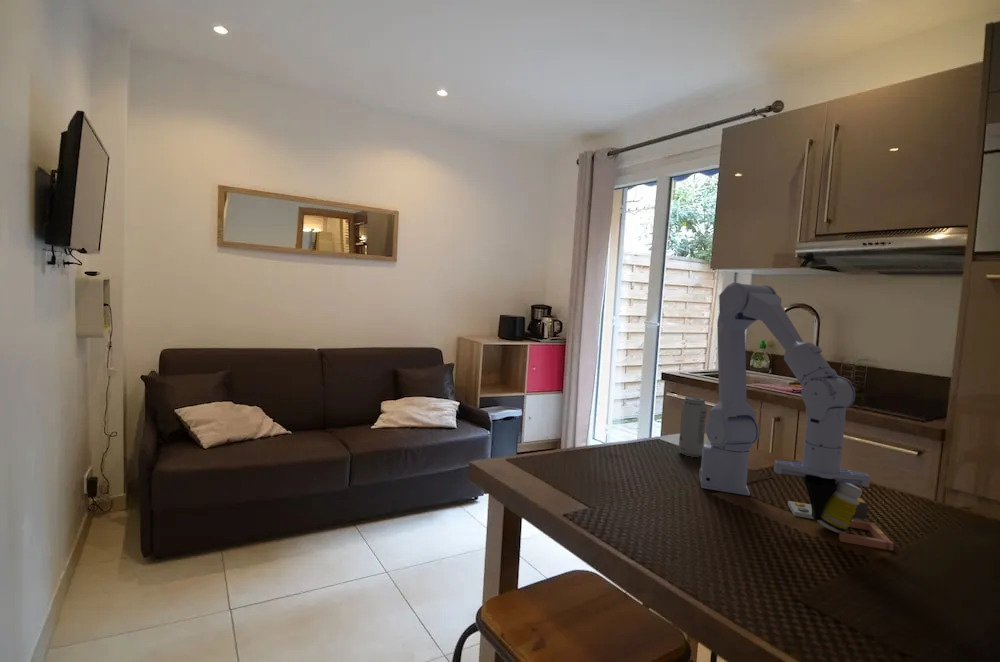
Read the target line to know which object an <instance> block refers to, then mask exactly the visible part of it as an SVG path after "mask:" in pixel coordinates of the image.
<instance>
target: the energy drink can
mask: <svg viewBox="0 0 1000 662" xmlns="http://www.w3.org/2000/svg"><path fill="white" fill-rule="evenodd" d="M705 401H706V400H705V398H702V397H694V396H686V397H685V398H684V400H683V402H682V406H681V415H680V416H681V417H680V418H681V419H680V428H679V429H680V430H679V439H678V441H679V442H678V451H679V452H680V453H682V454H684V455H687V456H693V457H698V456H700V457H701V456H702V449H703V444H705V443H704V442H705V432H706V423H707V422H706V421H707V420H706V419H707V411H708V410H707V409H708V408H707V407H708V406H707V404H706V402H705ZM687 456H686V457H687ZM693 457H692V458H693ZM698 458H699V457H698Z"/></svg>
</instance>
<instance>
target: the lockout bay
mask: <svg viewBox="0 0 1000 662" xmlns="http://www.w3.org/2000/svg"><path fill="white" fill-rule="evenodd" d="M848 528H852V529H853V528H854V529H859V530H864V531H869V533H871V535H872V536H873V537H869V536H863V535H858V534H851V533H847V532H846V533H841V532H839V533H838V540H839V542H840V543H841V542H842V543H847V544H853V545H859V546H864V547H869V548H876V549H880V550H887V551H892V552H893V551H894V543H893V541H892V540H890V538H889V537H888V536H887V535H886V534H885V533H884V532H883V530H881V529H880V527H879V526H877V525H876V523H875V522H871V521H866V520H863V521H860V520H854V519H852V521H851V523H850V525H849V527H848Z"/></svg>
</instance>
